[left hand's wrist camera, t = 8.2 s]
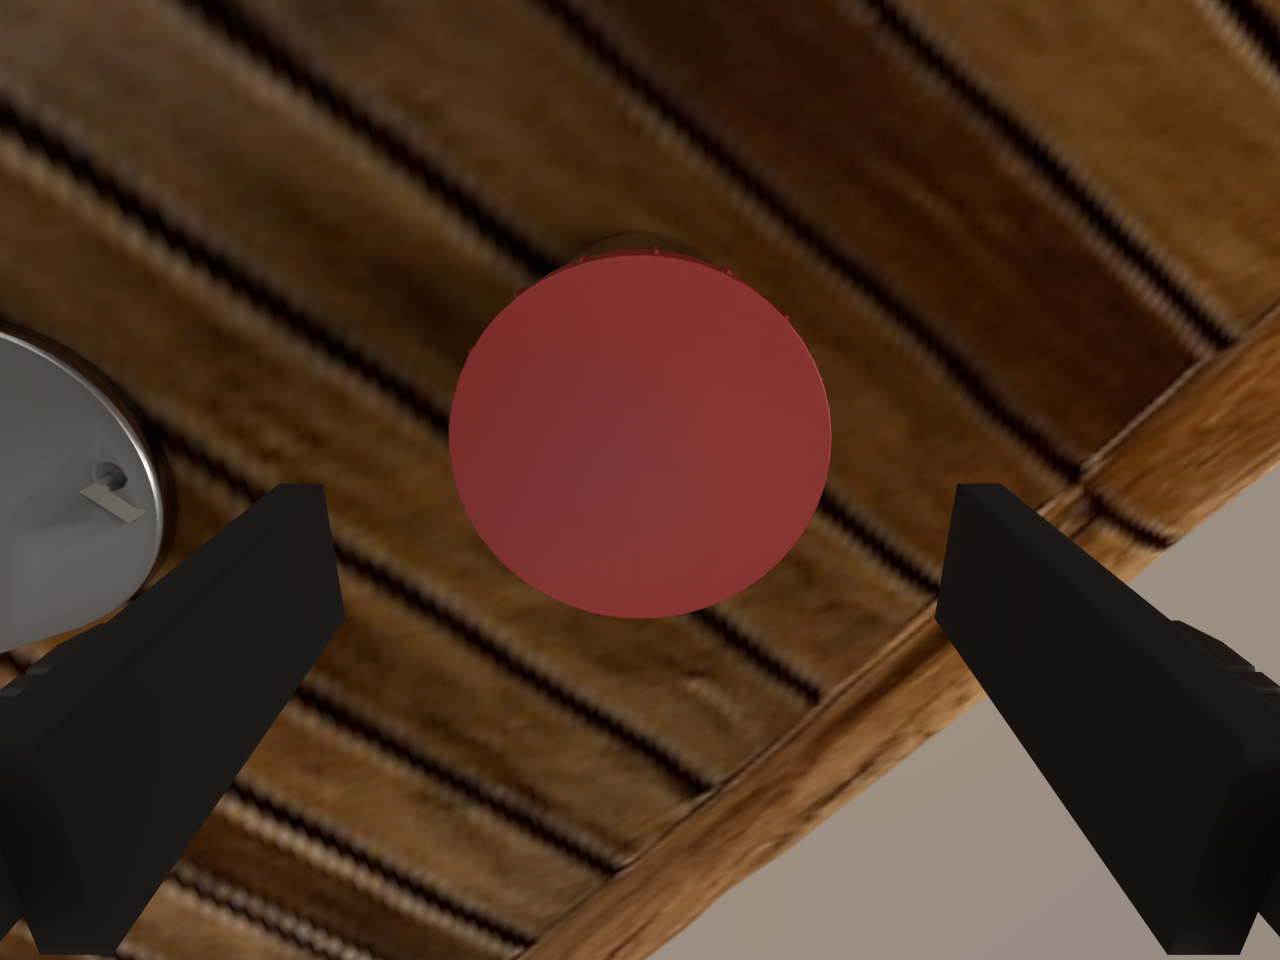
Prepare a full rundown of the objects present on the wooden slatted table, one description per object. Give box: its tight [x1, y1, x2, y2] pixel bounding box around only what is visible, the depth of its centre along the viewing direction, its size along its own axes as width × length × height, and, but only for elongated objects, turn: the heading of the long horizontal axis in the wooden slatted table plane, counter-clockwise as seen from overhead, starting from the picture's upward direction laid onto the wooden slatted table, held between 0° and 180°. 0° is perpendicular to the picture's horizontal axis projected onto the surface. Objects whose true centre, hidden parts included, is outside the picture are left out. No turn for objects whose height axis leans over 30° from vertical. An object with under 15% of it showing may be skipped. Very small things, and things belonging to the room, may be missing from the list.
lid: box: [449, 246, 832, 619], centre depth 19 cm, size 10×10×2 cm
